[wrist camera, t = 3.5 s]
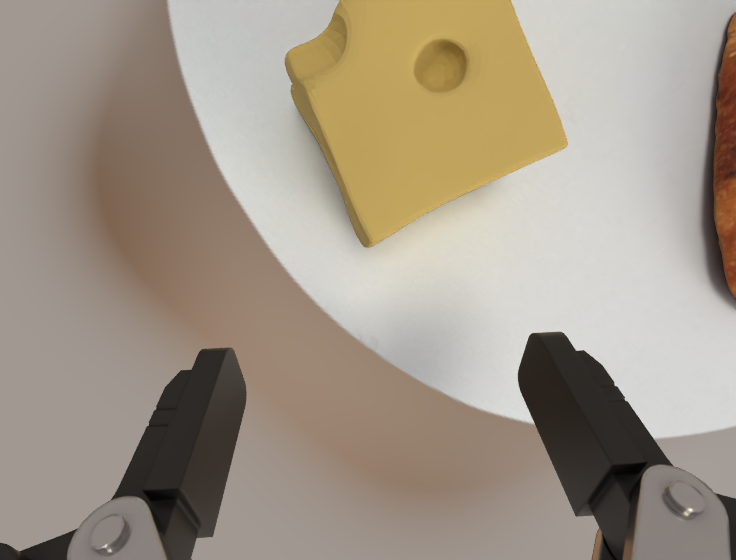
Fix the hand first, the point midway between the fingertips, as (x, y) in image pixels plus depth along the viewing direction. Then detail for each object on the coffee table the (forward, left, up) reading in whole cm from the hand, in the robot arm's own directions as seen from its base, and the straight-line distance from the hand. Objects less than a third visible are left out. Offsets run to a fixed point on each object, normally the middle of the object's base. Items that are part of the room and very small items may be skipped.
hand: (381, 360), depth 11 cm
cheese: (-3, +10, -16) cm, 19 cm away
